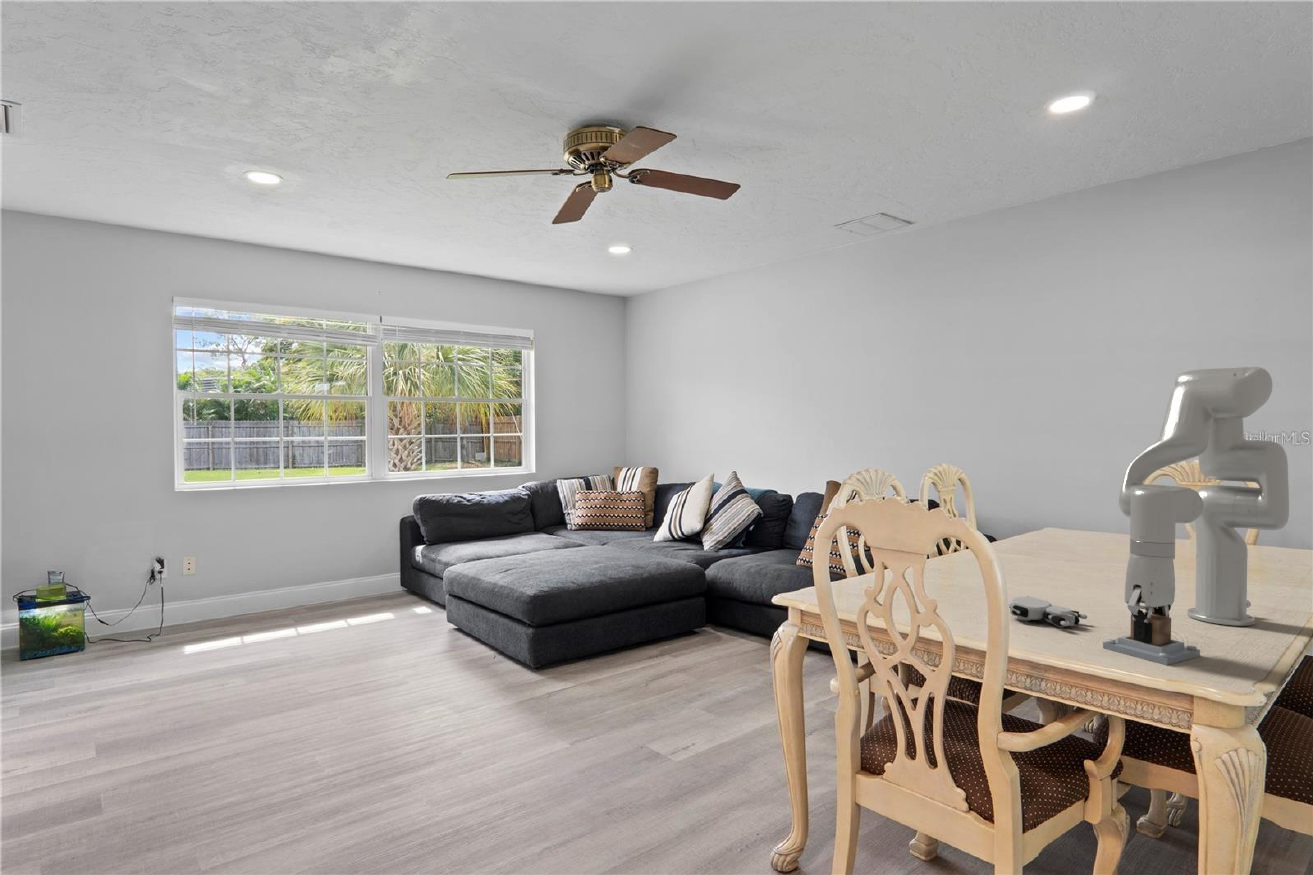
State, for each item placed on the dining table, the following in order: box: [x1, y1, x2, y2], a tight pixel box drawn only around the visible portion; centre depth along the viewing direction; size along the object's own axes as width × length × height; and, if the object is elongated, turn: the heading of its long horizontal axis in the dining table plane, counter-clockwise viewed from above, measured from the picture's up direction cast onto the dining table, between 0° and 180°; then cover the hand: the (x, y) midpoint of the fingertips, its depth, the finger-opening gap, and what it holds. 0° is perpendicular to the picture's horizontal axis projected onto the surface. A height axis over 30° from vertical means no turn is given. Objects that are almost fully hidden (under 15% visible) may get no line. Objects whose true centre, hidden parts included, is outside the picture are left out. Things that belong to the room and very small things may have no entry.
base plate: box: [1102, 634, 1201, 666], centre depth 146 cm, size 12×12×2 cm
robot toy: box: [1008, 595, 1088, 628], centre depth 168 cm, size 12×4×15 cm
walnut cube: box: [1129, 611, 1172, 646], centre depth 146 cm, size 5×5×5 cm
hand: (1150, 638), depth 146 cm, fingers closed on walnut cube, 5 cm apart
